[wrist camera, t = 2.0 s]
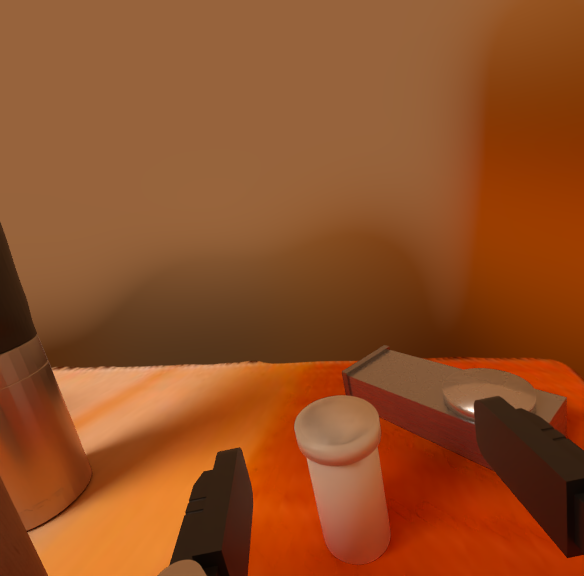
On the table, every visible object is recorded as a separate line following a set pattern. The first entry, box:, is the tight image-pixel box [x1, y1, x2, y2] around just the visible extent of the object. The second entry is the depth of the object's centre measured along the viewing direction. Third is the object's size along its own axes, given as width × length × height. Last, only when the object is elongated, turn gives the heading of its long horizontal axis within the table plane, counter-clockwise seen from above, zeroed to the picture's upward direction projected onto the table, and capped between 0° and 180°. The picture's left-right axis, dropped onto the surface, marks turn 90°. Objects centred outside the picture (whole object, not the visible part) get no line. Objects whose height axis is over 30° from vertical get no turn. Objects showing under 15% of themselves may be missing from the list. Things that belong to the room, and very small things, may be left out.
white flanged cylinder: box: [294, 395, 391, 565], centre depth 25 cm, size 6×6×10 cm
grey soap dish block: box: [342, 345, 567, 471], centre depth 36 cm, size 20×8×5 cm, turn 38°
